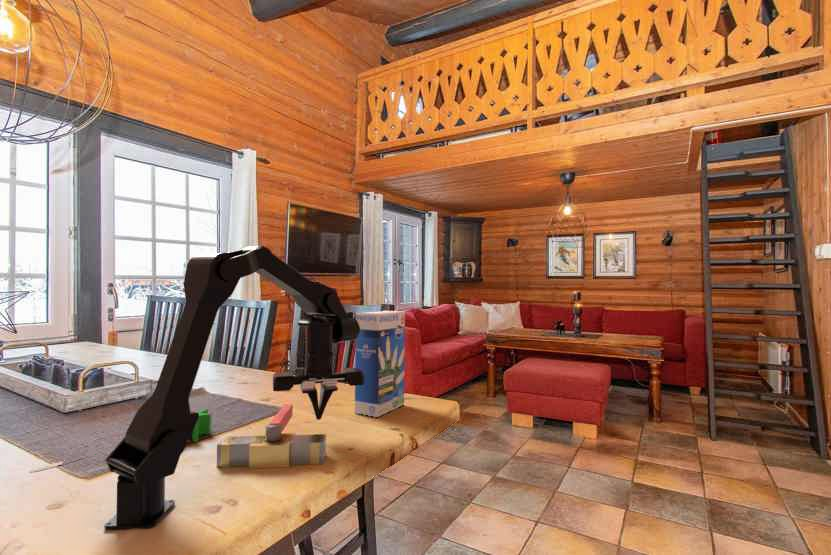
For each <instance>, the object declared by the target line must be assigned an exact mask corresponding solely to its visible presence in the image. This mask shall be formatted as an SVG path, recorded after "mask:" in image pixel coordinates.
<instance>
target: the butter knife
mask: <svg viewBox="0 0 831 555" xmlns="http://www.w3.org/2000/svg"><path fill="white" fill-rule="evenodd" d="M58 462H59V463H57V462H53V463H50V464H46V465H43V466H39V467H35V468H32V469H30V470H29V473H37V472H41V471H44V470H45V471H46V470H49V469H50V470H51V469H53V468H57V467H59V466H58V465H61V464H62V463H63V462H61V461H58ZM61 466H62V465H61Z"/></svg>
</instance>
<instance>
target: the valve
mask: <svg viewBox="0 0 831 555" xmlns="http://www.w3.org/2000/svg"><path fill="white" fill-rule="evenodd" d="M326 456H327V434H324V433H321V434H320V433H316V434H297V433H295V432H294V433H293V432H292V433H285V432H284V433H281V439H279V440H276V441H267V440H266V433H258V434H257V435H242V436H241V435H228V436H224V437H223V438H222V439H221V440H220V441H219V442H218V443H217V444H216V468H230V467H248V468H249V469H268V468H269V469H270V468H271V469H273V468H274V469H275V468H290V466H292V465H293V466H294V465H295V466H298V465H311V466H312V465H313V466H315V465H323V464H324V463H325V460H326Z"/></svg>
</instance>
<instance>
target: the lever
mask: <svg viewBox="0 0 831 555" xmlns="http://www.w3.org/2000/svg"><path fill="white" fill-rule="evenodd" d="M293 408H294V407H293V403H291V404H290V403H289V404H285V403H284V404H283V405H282V407H281V408H280V409H279V411H278V412H277V413H276V414H275V415H274V417H273V419H272V420H270V422H269V423H268V424H266V425H265V434H266V440H267V441H276V440H279V439H281V434H283V431H284V430H285V428H286V426H287V425H288V423H289V422H290V420H291V419H292V418H293Z"/></svg>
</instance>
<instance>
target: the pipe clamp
mask: <svg viewBox="0 0 831 555" xmlns="http://www.w3.org/2000/svg"><path fill="white" fill-rule="evenodd" d="M196 412H197V413H199V417H198V421H197V423H196V425H195V427H194V430H193V434H192V439H193V440H192V441H194V442H193V443H197V442H199V436H198V435H200V436H203V435H202V434H207V435H208V434H209V433H211V434H212V413H209V409H208V408H202V409H201V410H199V411H196ZM209 435H210V434H209Z"/></svg>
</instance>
